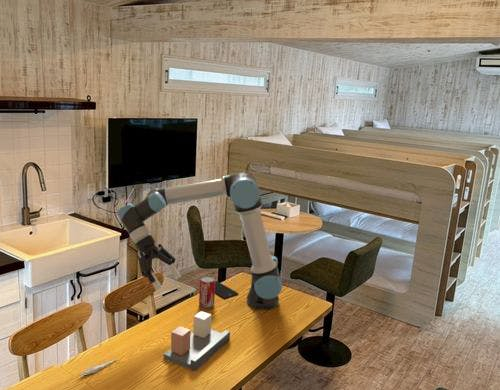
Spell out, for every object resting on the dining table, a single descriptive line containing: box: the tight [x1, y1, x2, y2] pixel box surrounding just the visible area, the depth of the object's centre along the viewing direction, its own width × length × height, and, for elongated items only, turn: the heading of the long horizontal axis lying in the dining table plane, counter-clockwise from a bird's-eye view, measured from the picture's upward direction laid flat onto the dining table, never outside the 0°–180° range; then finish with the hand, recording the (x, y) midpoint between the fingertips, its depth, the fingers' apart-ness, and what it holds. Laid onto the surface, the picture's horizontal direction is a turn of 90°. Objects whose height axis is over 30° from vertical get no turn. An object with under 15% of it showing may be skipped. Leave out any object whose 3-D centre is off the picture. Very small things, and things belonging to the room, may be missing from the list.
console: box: [163, 329, 231, 372], centre depth 174 cm, size 14×24×4 cm, turn 152°
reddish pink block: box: [170, 325, 191, 355], centre depth 169 cm, size 5×5×8 cm
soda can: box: [198, 275, 216, 309], centre depth 209 cm, size 7×7×13 cm
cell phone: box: [214, 280, 239, 300], centre depth 226 cm, size 9×18×1 cm, turn 41°
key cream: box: [192, 310, 212, 338], centre depth 181 cm, size 5×5×8 cm
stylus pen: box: [79, 359, 118, 377], centre depth 160 cm, size 15×3×2 cm, turn 139°
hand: (169, 283), depth 185 cm, fingers open, 13 cm apart
